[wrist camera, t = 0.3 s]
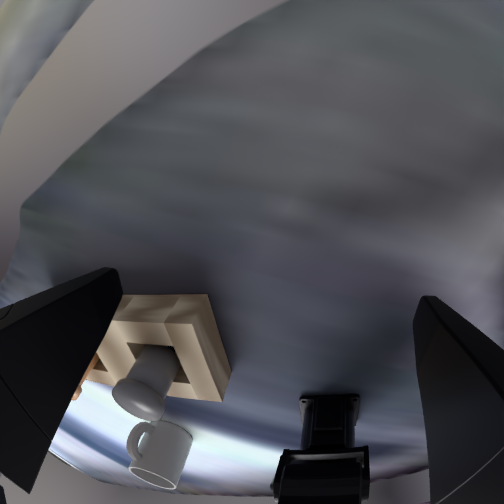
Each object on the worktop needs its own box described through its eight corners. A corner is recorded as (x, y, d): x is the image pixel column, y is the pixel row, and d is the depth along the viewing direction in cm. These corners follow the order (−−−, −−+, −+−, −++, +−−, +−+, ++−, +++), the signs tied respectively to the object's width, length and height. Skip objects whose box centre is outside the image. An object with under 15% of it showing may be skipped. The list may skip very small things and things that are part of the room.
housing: (207, 294, 27) (191, 323, 23) (231, 371, 31) (222, 401, 28) (54, 293, 32) (34, 313, 28) (88, 356, 36) (74, 376, 32)
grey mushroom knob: (190, 376, 28) (169, 424, 23) (149, 371, 29) (126, 415, 24) (175, 341, 26) (148, 392, 21) (132, 338, 27) (102, 383, 22)
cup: (170, 444, 44) (153, 486, 36) (128, 410, 41) (105, 455, 33) (202, 442, 41) (186, 490, 33) (158, 406, 38) (134, 458, 30)
